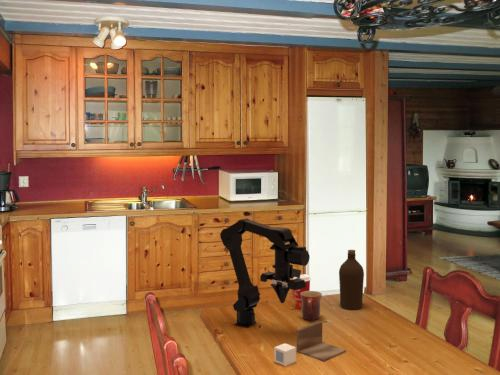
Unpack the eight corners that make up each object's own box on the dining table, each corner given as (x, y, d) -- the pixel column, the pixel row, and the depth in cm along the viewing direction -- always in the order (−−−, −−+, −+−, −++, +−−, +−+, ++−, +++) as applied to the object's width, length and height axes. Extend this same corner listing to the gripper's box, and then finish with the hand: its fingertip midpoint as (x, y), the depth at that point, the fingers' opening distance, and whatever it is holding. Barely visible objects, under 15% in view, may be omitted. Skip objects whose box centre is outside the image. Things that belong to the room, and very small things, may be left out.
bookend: (296, 351, 188) (296, 329, 187) (319, 342, 196) (319, 321, 195) (323, 362, 179) (323, 338, 178) (346, 352, 187) (346, 329, 186)
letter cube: (274, 361, 180) (274, 347, 179) (284, 357, 183) (284, 343, 183) (285, 366, 176) (285, 351, 175) (295, 361, 179) (295, 347, 179)
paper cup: (291, 305, 239) (291, 274, 238) (308, 304, 240) (308, 273, 239) (294, 310, 232) (294, 278, 230) (312, 310, 232) (312, 278, 231)
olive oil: (347, 311, 230) (348, 253, 227) (334, 304, 239) (334, 249, 237) (368, 308, 234) (369, 251, 231) (354, 301, 243) (354, 246, 241)
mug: (301, 314, 227) (301, 290, 226) (322, 315, 225) (322, 291, 225) (298, 323, 216) (298, 298, 215) (320, 325, 214) (320, 299, 213)
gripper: (315, 262, 201) (315, 303, 202) (279, 254, 214) (279, 293, 216) (295, 267, 193) (295, 310, 195) (259, 259, 207) (259, 299, 208)
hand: (282, 302), depth 204 cm, fingers closed
